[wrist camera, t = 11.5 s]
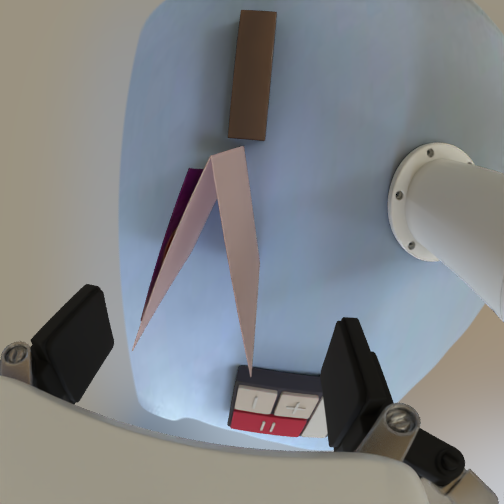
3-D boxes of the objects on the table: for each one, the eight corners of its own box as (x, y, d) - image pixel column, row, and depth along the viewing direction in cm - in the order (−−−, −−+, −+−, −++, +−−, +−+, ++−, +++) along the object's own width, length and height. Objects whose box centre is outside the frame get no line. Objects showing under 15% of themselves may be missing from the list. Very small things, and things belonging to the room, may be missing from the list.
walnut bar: (276, 21, 19) (276, 11, 17) (265, 140, 24) (264, 140, 22) (243, 19, 19) (240, 9, 17) (231, 138, 24) (227, 138, 22)
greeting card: (235, 141, 24) (191, 146, 10) (308, 180, 25) (355, 233, 11) (184, 246, 28) (118, 343, 14) (250, 279, 29) (235, 396, 15)
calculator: (234, 385, 31) (355, 399, 30) (239, 361, 35) (350, 376, 34) (226, 430, 35) (326, 441, 34) (230, 408, 39) (325, 420, 38)
